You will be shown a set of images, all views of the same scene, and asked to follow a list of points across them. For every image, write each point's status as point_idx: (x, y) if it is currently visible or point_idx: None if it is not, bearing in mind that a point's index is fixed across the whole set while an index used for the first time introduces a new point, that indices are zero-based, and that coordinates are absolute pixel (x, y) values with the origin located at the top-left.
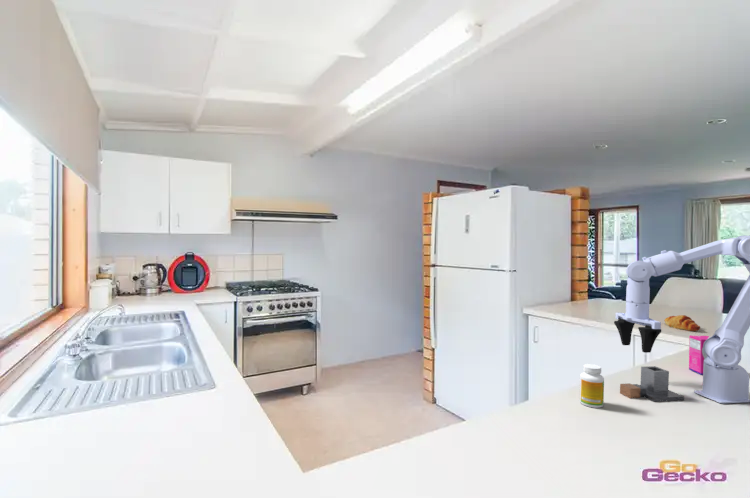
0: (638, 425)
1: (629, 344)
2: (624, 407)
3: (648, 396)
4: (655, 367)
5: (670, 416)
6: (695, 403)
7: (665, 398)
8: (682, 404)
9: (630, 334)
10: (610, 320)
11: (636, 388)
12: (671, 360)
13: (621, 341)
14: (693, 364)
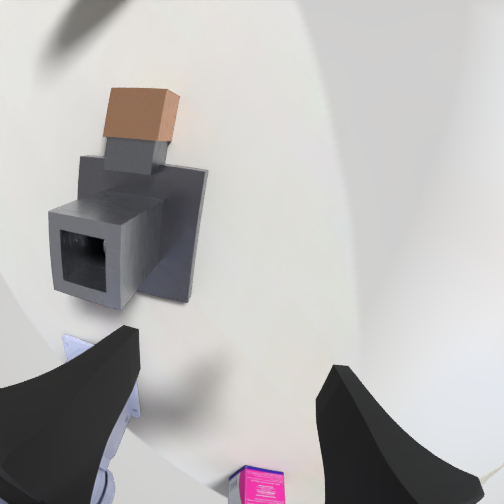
0: (31, 3)
1: (317, 402)
2: (91, 23)
3: (101, 157)
4: (103, 291)
5: (21, 114)
6: None
7: None
8: None
9: (328, 469)
10: None
11: (106, 116)
12: None
13: (358, 379)
14: (268, 483)
